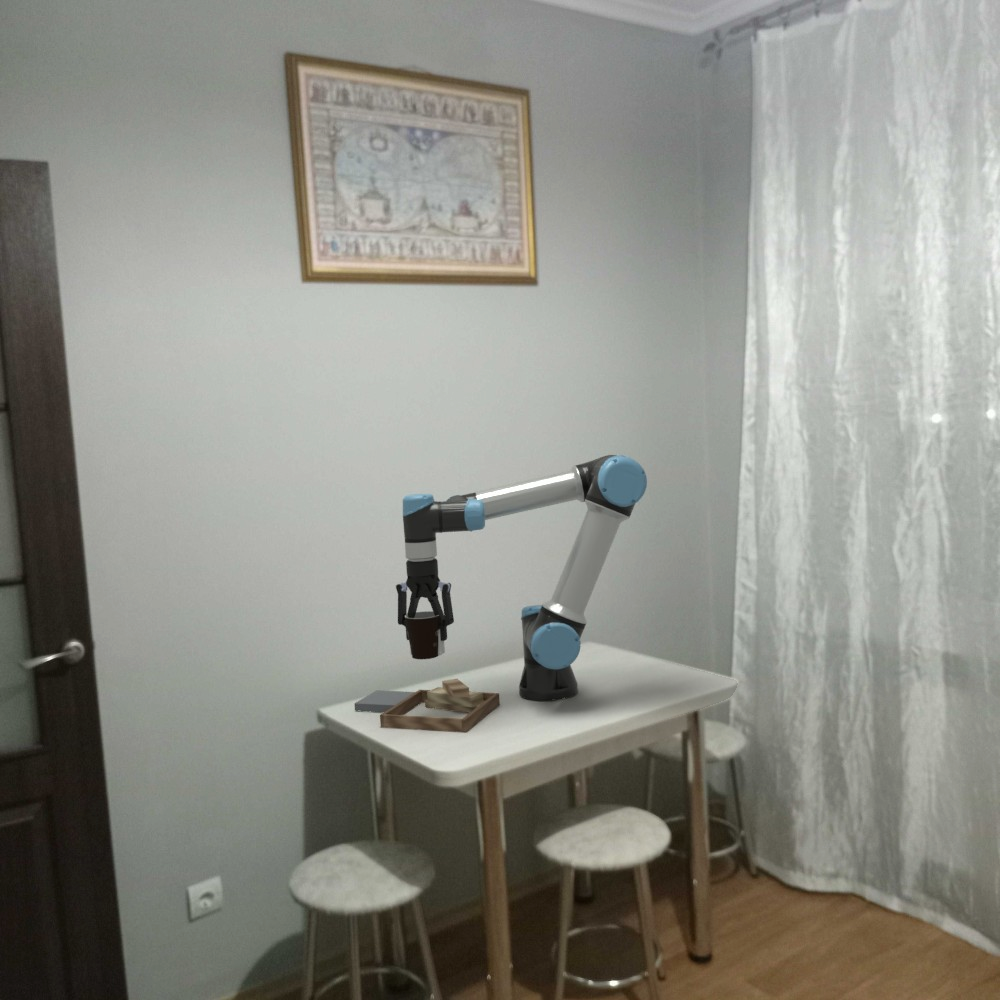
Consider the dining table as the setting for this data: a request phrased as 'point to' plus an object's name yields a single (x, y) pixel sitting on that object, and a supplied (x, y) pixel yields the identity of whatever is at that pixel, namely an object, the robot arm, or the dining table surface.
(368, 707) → the plate
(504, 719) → the dining table surface
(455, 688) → the offcut board beech
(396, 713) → the wooden tray
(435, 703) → the offcut board oak
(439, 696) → the offcut board pine
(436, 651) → the coffee mug
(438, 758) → the dining table surface
